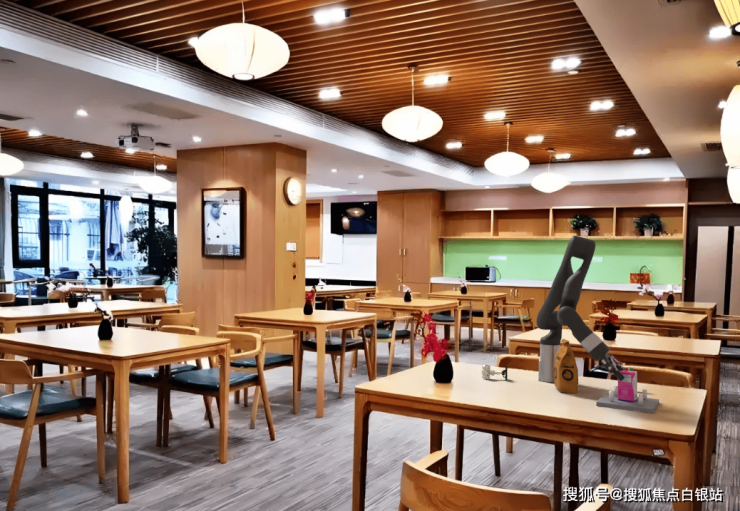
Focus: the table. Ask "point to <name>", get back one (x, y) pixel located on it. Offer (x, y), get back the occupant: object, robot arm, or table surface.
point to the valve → (492, 372)
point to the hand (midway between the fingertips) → (624, 377)
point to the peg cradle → (640, 405)
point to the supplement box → (628, 386)
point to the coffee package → (566, 369)
